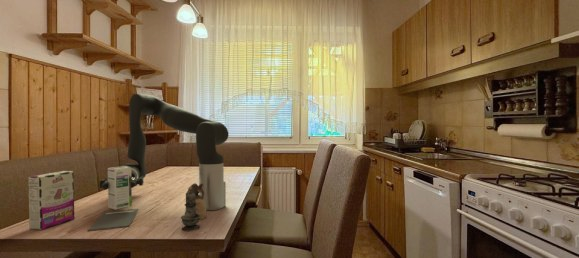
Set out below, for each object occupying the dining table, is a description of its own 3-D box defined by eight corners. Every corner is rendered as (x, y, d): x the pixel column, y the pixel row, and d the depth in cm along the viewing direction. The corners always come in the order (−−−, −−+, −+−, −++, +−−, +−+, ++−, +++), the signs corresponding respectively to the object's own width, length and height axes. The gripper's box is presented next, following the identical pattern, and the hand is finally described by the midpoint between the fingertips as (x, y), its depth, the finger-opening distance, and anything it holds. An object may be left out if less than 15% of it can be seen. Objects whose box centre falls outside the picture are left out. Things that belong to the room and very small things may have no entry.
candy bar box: (62, 218, 100) (62, 170, 99) (75, 219, 99) (74, 171, 98) (27, 229, 89) (27, 175, 88) (40, 230, 88) (40, 176, 88)
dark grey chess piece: (180, 226, 91) (180, 188, 91) (199, 223, 93) (199, 186, 93) (181, 232, 86) (181, 192, 86) (201, 229, 88) (201, 190, 88)
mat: (104, 212, 106) (104, 211, 106) (138, 209, 110) (138, 208, 110) (87, 231, 87) (87, 229, 87) (129, 226, 91) (129, 225, 91)
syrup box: (115, 210, 101) (115, 168, 101) (107, 207, 104) (107, 167, 104) (132, 206, 106) (131, 166, 105) (124, 203, 109) (124, 165, 109)
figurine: (189, 215, 103) (188, 181, 103) (208, 215, 103) (208, 181, 103) (180, 221, 96) (180, 185, 96) (202, 221, 96) (202, 185, 96)
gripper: (106, 169, 116) (95, 176, 101) (146, 167, 121) (141, 174, 105) (106, 188, 116) (95, 198, 101) (146, 185, 121) (141, 194, 106)
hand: (118, 185), depth 103 cm, fingers closed on syrup box, 8 cm apart
